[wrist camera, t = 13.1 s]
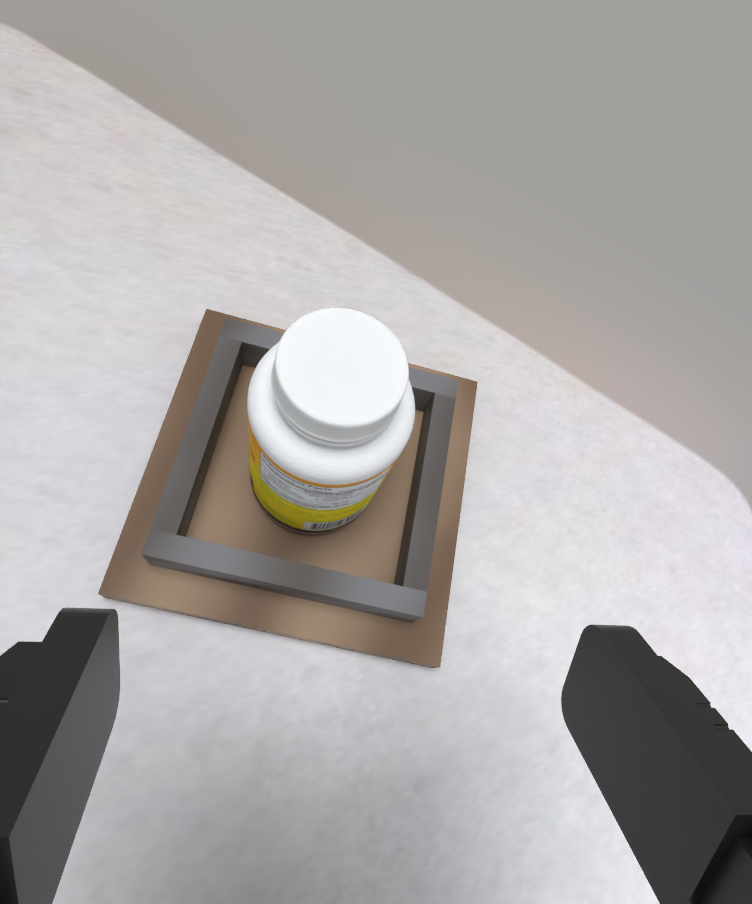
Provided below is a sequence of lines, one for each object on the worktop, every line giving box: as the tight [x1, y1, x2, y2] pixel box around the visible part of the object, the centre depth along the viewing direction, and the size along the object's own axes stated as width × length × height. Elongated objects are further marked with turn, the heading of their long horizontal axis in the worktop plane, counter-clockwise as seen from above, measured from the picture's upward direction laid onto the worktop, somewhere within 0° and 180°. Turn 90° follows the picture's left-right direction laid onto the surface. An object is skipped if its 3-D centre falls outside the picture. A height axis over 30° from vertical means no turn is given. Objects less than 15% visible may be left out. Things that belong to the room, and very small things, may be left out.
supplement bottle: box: [247, 308, 415, 534], centre depth 21 cm, size 6×6×10 cm
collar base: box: [98, 309, 477, 668], centre depth 26 cm, size 14×14×3 cm
